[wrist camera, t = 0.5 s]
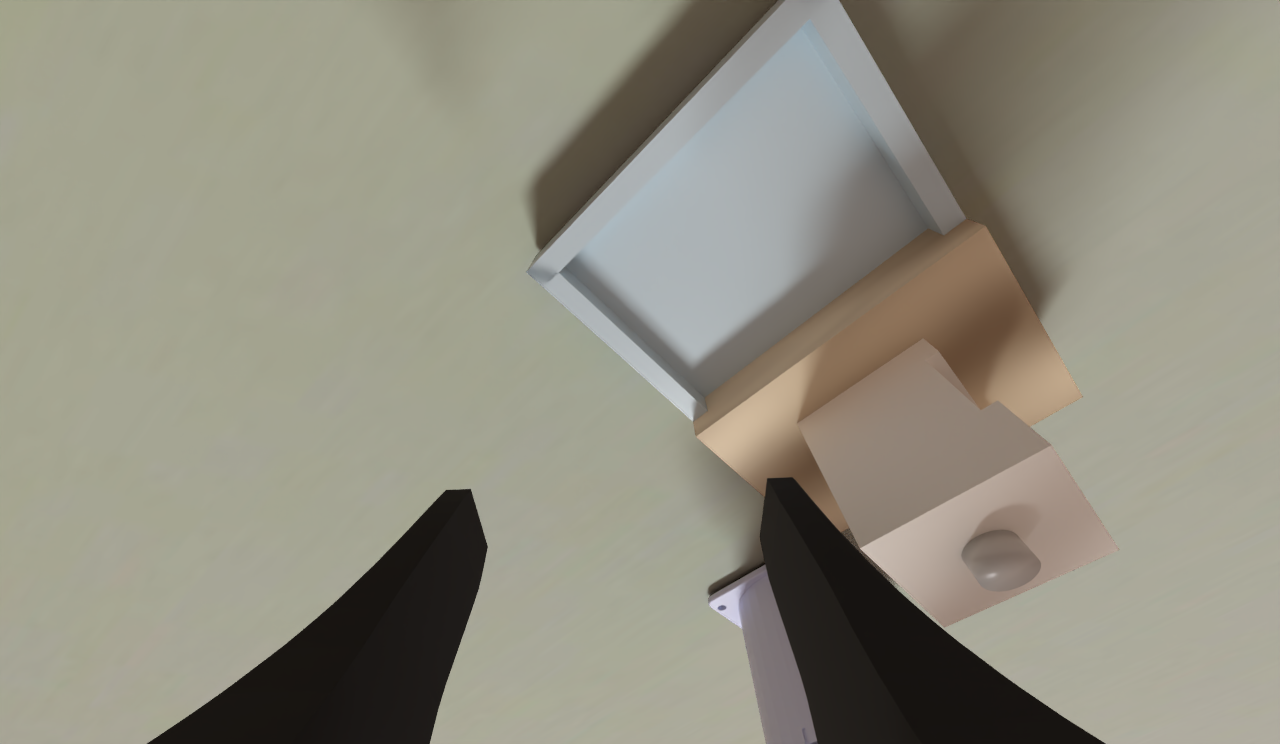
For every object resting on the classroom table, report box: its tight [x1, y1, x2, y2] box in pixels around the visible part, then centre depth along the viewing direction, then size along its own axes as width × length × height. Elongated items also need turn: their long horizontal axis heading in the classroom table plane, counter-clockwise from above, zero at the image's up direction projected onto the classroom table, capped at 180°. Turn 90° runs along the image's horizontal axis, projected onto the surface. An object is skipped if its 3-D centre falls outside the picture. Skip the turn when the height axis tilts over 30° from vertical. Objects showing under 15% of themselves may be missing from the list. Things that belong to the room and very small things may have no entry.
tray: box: [527, 0, 966, 422], centre depth 17 cm, size 9×12×2 cm
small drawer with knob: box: [797, 339, 1119, 627], centre depth 16 cm, size 5×5×7 cm
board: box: [693, 219, 1083, 532], centre depth 20 cm, size 9×12×3 cm
